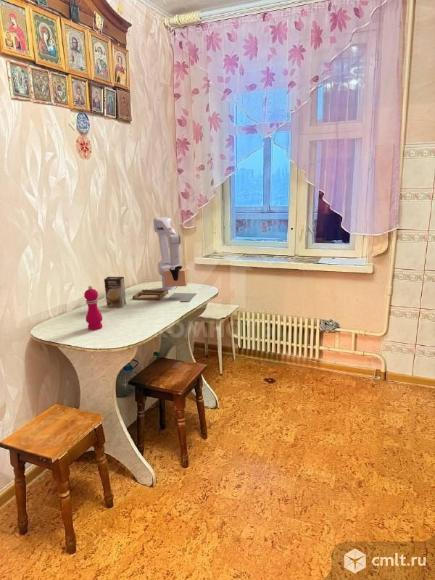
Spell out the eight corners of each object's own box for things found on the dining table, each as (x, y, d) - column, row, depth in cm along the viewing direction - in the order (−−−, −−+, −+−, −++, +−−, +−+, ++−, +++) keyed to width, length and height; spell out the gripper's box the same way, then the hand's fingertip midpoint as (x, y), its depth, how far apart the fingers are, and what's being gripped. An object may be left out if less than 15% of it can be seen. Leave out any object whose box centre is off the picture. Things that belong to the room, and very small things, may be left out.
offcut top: (141, 297, 228) (141, 295, 228) (158, 297, 227) (157, 295, 226) (139, 299, 225) (138, 297, 224) (155, 299, 223) (155, 297, 223)
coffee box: (106, 308, 211) (103, 279, 207) (110, 305, 217) (107, 276, 213) (123, 308, 210) (120, 279, 206) (127, 304, 216) (124, 276, 212)
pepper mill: (88, 331, 178) (82, 288, 173) (86, 326, 184) (80, 285, 179) (104, 328, 181) (99, 286, 175) (102, 324, 187) (97, 283, 182)
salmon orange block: (166, 285, 228) (165, 269, 226) (187, 284, 227) (185, 269, 224) (165, 286, 225) (163, 271, 223) (185, 286, 223) (184, 270, 221)
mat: (174, 293, 235) (174, 292, 235) (196, 294, 232) (196, 293, 232) (164, 301, 220) (164, 300, 220) (189, 302, 217) (189, 301, 217)
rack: (143, 293, 238) (142, 289, 237) (168, 294, 234) (168, 290, 234) (133, 300, 224) (132, 296, 223) (159, 301, 221) (159, 297, 220)
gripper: (171, 253, 229) (172, 276, 232) (164, 258, 215) (166, 282, 218) (183, 253, 228) (184, 276, 231) (177, 258, 214) (178, 282, 217)
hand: (176, 279), depth 225 cm, fingers closed on salmon orange block, 3 cm apart
